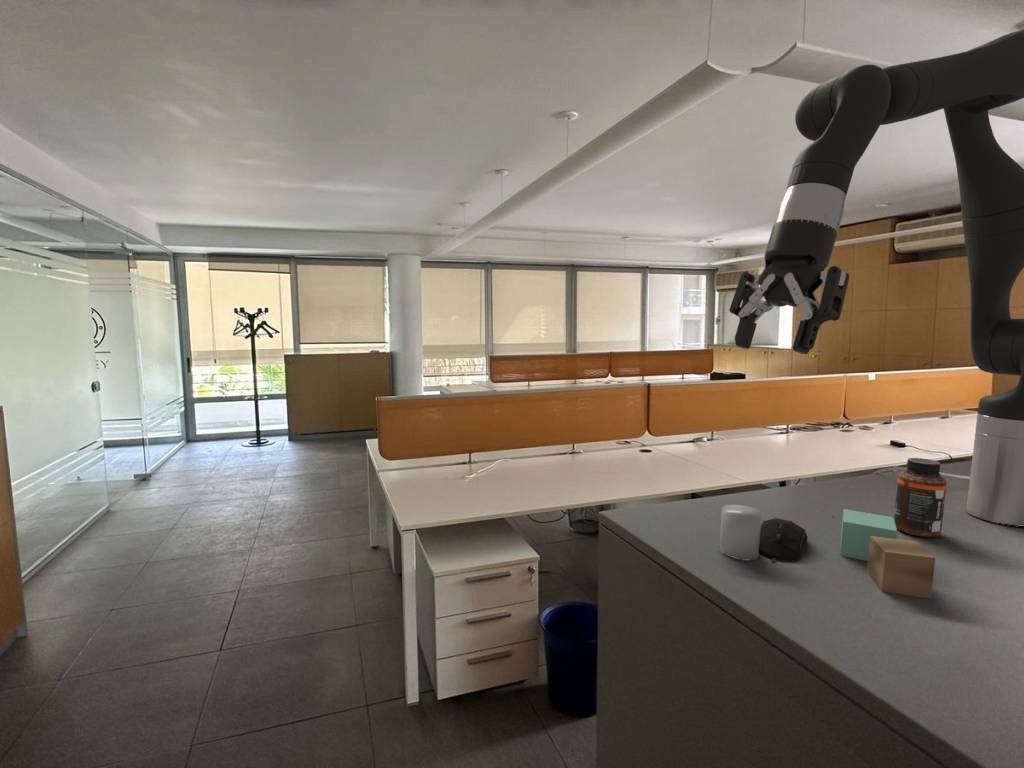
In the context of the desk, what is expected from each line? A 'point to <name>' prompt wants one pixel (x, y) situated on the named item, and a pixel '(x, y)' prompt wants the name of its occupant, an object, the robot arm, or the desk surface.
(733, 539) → the grey cylinder
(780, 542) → the gaming mouse
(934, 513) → the supplement bottle
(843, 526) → the teal block
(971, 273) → the robot arm
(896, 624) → the desk surface
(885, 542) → the walnut block
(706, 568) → the desk surface
